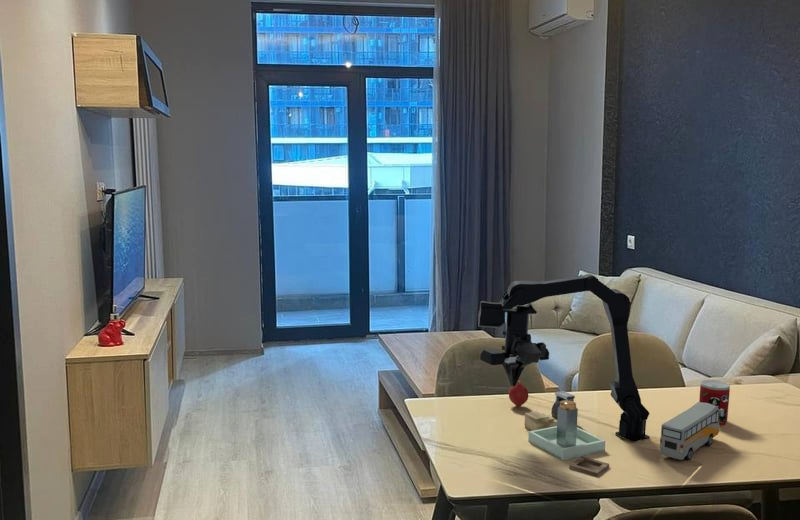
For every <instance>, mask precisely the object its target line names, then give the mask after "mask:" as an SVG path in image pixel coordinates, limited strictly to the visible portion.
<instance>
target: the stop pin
mask: <svg viewBox="0 0 800 520" xmlns="http://www.w3.org/2000/svg"><path fill="white" fill-rule="evenodd" d="M578 412H579V410H578V408H577V402H576V401H574V402H573V401H568V400H564V401H560V406H558V417H557V439H556V443H557V444H559V445H561V446H563V447H565V448H567V447H572V446H576V436H577V427H578Z"/></svg>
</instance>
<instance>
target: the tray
mask: <svg viewBox="0 0 800 520" xmlns="http://www.w3.org/2000/svg"><path fill="white" fill-rule="evenodd" d="M556 439H557V426H554V427H549V428H544V429H539V430H534V431H531V430H529V431H528V443H531V444H533V445H534V446H536V447H537V448H540V449H542V450H543V451H545V452H547V453H549V454H551V455H552V456H554V457H556V458H558V459H559V460H561V461H566V460H571V459H575V458H580V457H581V456H583V457H586V456H588V455H594V454H596V453H597V454H598V453H602V452H605V451H606V440H604V439H603V438H601V437H599V436H596V435H594V434H592V433H589V432H588V431H586V430H584V429H582V428H580V427H578V426H577V436H576V446H572V447H567V448H565V447H563V446H561V445H559V444H557V443H556Z"/></svg>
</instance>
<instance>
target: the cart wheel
mask: <svg viewBox="0 0 800 520" xmlns="http://www.w3.org/2000/svg"><path fill="white" fill-rule="evenodd" d="M554 395H555V401H554V404H552V406H551V407H552V408H551V416H552V417H554V418H556V419H557V417H558V406H560V401H564V400H568V401H573V402H575V398H576V396H575V395H573V394H572V393H569V392H568V391H567V392H566V391H564V390H560V391H555V392H554Z"/></svg>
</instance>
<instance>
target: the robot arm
mask: <svg viewBox="0 0 800 520" xmlns="http://www.w3.org/2000/svg"><path fill="white" fill-rule="evenodd" d="M582 292H583V293H584V292H591V293H592V294H593V295H595V296H596V297H598V298H599V299H600V300H601V301H602V306H603V309H604V312H605V315H606V317H607V320H608V322H609V325H610V333H611V335H610V336H611V341H612V343H611V344H612V351H613V359H614V369H615V378H614V381H611V380H610V381H609V382H608V383H609V386H610V396H611V398H613V401H615V403H616V404H617V405H618V406H619V408H620V410H622V411H623V412H622V413H621V414H620V419H619V425H618V431H616V432H614V433H615V436H618V437H620V438H622V439H625V440H627V441H628V442H631V443H635V442H639V441H644V440H648V439H650V437H651V436H649V435H647V434H646V429H647V428H646V427H647V421H648V418H649V416H650V414H651V413H650V411H648V409H647V408H646V406H644V405H643V403H642V399H641V396H640V393H639V389H638V387H637V384H636V381H635V379H634V375H633V367H632V359H631V349H630V339H629V331H628V329H629V328H628V323H629V320H630V319H629V318H630V314H631V299H630V297H629V296H628V295H626V294H625V293H624V292H622V291H621V290H619V289H616V288H610V287H608V285H605V284H604V283H603V282H602V281H600V280H599V279H598V277H596V276H595V275H593V274H592V273H586V274H585V275H579V276H573V277H572V276H571V277H565V278H557V279H552V280H546V281H545V280H544V281H537V280H536V281H535V280H514V281H512V282H511V283H510V284H509V285H508V288H507V292H506V294H505V295H504V296H503V297H502V298H501V299H500V301H499V302H495V301H494V302H489V301H484V300H481V301H480V306H479V311H478V321H477V322H478V324H477V325H478V327H479V328H491V329H493V328H494V329H495V328H497V329H500V328H501V327H503V325H505V321H506V326H505V330H503V331H502V335H504V336H505V339H504V345H501V350H502V351H500V350H498V349H496V348H490V349H489V348H488V349H487V348H486V349H483V350H481V352H480V357H479V359H480V361H482V362H484V363H487V364H488V365H491V366H497V365H502V367H503V369H504V371H505V374H506V376H507V378H508V381H509V384H510V386H511V387H512V386H516V384H517V382H518V381H519V379H520V377H521V374H522V373H523V371H524V369H525V368H526V367H527V366H528V365H531V364H532V363H533V364H534V363H535V364H538V363H539V361H549V359H550V351H549V349H548V348H547V344H546V343H545V342H532V336H531V335H532V334H530V333H528V331H529V320H530V319H529V318H530V314H531V315H536V314H537V313H538V312H537V310H536V309H535V308H534V307H533V305H532V303H535V302H537V301H539V300H541V299H544V298H548V297H555V296H562V295H570V294H575V293H582Z"/></svg>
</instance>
